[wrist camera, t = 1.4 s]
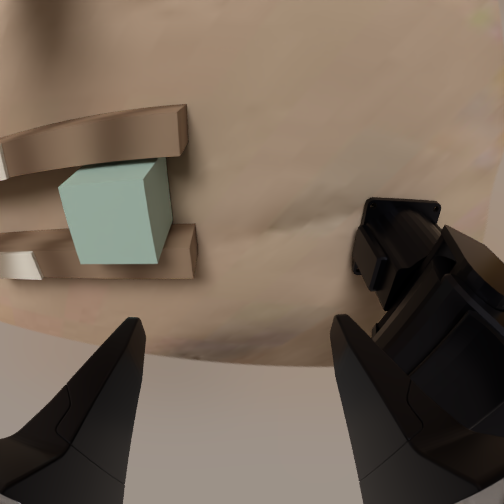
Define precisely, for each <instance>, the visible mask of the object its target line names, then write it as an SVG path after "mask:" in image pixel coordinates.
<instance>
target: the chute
mask: <svg viewBox="0 0 504 504" xmlns="http://www.w3.org/2000/svg"><path fill="white" fill-rule="evenodd" d="M187 143H188V126H187V106H186V104H182V105H169V106H159V107H149V108H141V109H133V110H125V111H118V112H112V113H105V114H99V115H94V116H88V117H83V118H78V119H73V120H68V121H63V122H59V123H54V124H50V125H46V126H42V127H38V128H34V129H30V130H27V131H23V132H19V133H16V134H12V135H9V136H6V137H2V138H0V181H1V180H6V179H8V178H10V177H14V176H20V175H25V174H30V173H36V172H42V171H47V170H54V169H60V168H67V167H74V166H81V165H88V164H96V163H105V162H114V161H123V160H134V159H145V158H158V157H173V156H180V155H181V153H182V152H183V150H184V148H185V147H186V145H187ZM197 255H198V248H197V239H196V229H195V224H171V227H170V229H169V232H168V235H167V238H166V241H165V244H164V246H163V249H162V252H161V255H160V258H159V261H158V264H81V263H80V260H79V258H78V255H77V252H76V249H75V245H74V242H73V239H72V236H71V233H70V229H55V230H38V231H23V232H9V233H0V278H7V279H32V280H42V279H43V277H50V278H103V279H193V278H194V272H195V266H196V261H197Z"/></svg>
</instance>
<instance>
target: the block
mask: <svg viewBox="0 0 504 504" xmlns="http://www.w3.org/2000/svg"><path fill="white" fill-rule="evenodd" d="M58 189H59V193H60V197H61V201H62V205H63V208H64V212H65V216H66V219H67V223H68V226H69V229H70V233H71V236H72V239H73V242H74V245H75V249H76V252H77V255H78V258H79V260H80V263H81V264H158V261H159V258H160V255H161V252H162V249H163V246H164V244H165V241H166V238H167V235H168V232H169V229H170V227H171V224H172V221H173V217H172V209H171V201H170V193H169V184H168V175H167V166H166V157H158V158H145V159H134V160H123V161H114V162H105V163H96V164H88V165H83V166H82V167H81V168H80V169H79V170H77V171H76V172H75V173H74V174H73V175H72V176H70V177H69V178H68V179H67V180H66V181H65V182H64V183H63V184H61V185H60V186H59V187H58Z"/></svg>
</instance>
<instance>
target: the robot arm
mask: <svg viewBox="0 0 504 504" xmlns="http://www.w3.org/2000/svg"><path fill="white" fill-rule="evenodd" d="M372 203H375V205H374V206H373V207H370V206H371V204H372ZM435 206H436V208H435V209H434V207H435ZM433 209H434V210H433ZM440 211H441V205H440V204H439V203H438V202H437V201H429V200H414V199H397V198H377V197H372V198H369V199H368V200H367V201H366V203H365V208H364V213H363V218H362V223H361V225H360V226H359V227H358V230H357V235H356V240H355V245H354V250H353V254H352V256H353V258H354V260H353V265H352V270H353V272H354V274H356V275H362V277H363V279H364V281H365V283H366V285H367V287H368V289H369V290H370V291H375V292H376V294H377V296H378V298H379V301H380V303H381V305H382V307H383V309H384V311H388V312H387V313H386V314H385V315H384V317H383V318H382V319H381V320H380V322H379V323H376V324H375V326H374V327H373V328H372V339H371V338H370V337H369V336H368V335H367V334H366V333H365V332H364V331H363V330H362V329H361V328H360V327H359V326H358V324H357V323H356V322H355V321H354V320H353V319H352V318H351V317H350V316H348V315H347V314H338V315H335V316H334V319H333V323H332V327H331V331H330V340H331V347H332V354H333V362H334V370H335V377H336V381H337V385H338V389H339V393H340V397H341V401H342V406H343V410H344V414H345V419H346V423H347V427H348V431H349V436H350V440H351V444H352V449H353V454H354V459H355V463H356V468H357V473H358V478H359V481H360V488H361V493H362V499H363V504H504V263H503V262H502V261H501V260H500V259H499V258H498V257H497V256H496V255H495V254H494V253H493V252H492V251H491V250H490V249H489V248H487V246H485V245H484V244H482V243H480V242H478V241H476V240H474V239H473V238H471V237H469V236H467V235H465V234H463V233H461V232H459V231H457V230H455V229H453V228H451V227H449V226H447V225H444V227H443V229H441V228H440V227H439V226H438V225H437V221H438V218H439V214H440ZM357 268H359V269H357ZM145 343H146V335H145V331H144V328H143V325H142V322H141V320H140V318H138V317H128V318H127V319H126V320H125V321H124V322H123V323H122V324H121V325H120V326H119V327H118V328H117V329H116V330H115V331H114V332H113V333H112V334H111V335H110V337H109V338H108V339H107V340H106V341H105V342H104V343H103V344H102V345H101V346H100V347H99V348H98V350H97V351H96V352H95V353H94V354H93V355H92V356H91V357H90V358H89V359H88V360H87V361H86V363H85V364H84V365H83V366H82V367H81V368H80V369H79V370H78V371H77V372H76V374H75V375H74V376H73V377H72V378H71V379H70V380H69V381H68V383H67V385H65V386H64V387H63V388H62V389H61V390H60V391H59V392H58V393H57V395H56V396H55V397H54V398H53V399H52V400H51V401H50V402H49V403H48V404H47V405H46V406H45V407H44V408H43V409H42V410H41V411H40V412H39V413H38V414H36V415H35V416H34V417H33V418H32V419H31V420H30V421H29V422H28V423H27V424H26V425H25V426H24V427H23V428H21V429H20V430H19V431H18V432H16V433H15V434H13V435H12V436H9V437H7V438H3V439H0V504H123V497H124V488H125V485H124V484H125V479H126V471H127V464H128V457H129V451H130V444H131V438H132V432H133V426H134V420H135V414H136V409H137V404H138V398H139V393H140V388H141V383H142V375H143V364H144V353H145Z"/></svg>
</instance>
